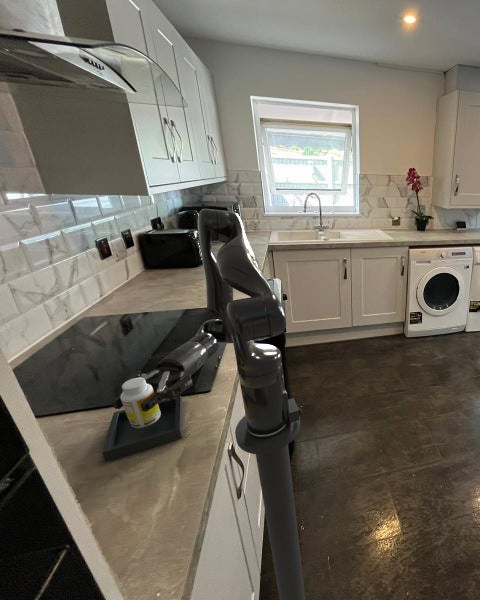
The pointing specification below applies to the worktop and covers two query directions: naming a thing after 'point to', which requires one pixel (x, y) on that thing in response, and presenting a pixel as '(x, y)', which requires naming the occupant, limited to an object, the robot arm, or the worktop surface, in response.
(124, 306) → the worktop surface
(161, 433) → the shallow tray
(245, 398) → the robot arm
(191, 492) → the worktop surface
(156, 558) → the worktop surface
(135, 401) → the supplement bottle
